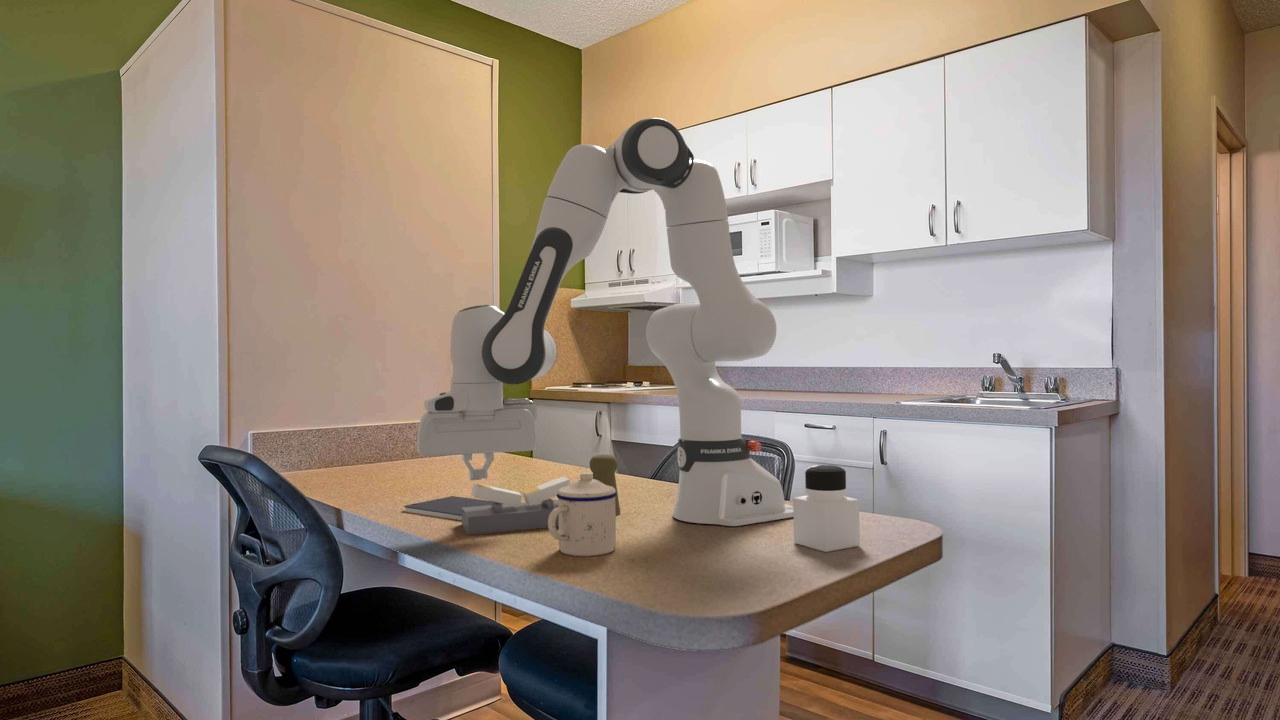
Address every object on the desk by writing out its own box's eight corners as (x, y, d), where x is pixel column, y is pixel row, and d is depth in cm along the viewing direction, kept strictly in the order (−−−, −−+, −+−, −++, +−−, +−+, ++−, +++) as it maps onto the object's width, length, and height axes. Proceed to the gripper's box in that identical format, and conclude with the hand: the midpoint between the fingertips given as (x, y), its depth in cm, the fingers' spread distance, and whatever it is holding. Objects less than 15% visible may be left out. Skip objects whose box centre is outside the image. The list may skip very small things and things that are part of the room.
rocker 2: (566, 486, 141) (563, 475, 141) (572, 490, 138) (569, 478, 137) (525, 502, 139) (521, 491, 139) (529, 505, 135) (526, 494, 135)
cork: (616, 517, 141) (615, 457, 141) (584, 516, 142) (583, 456, 142) (623, 510, 147) (622, 453, 147) (592, 510, 148) (591, 452, 148)
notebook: (527, 513, 149) (452, 503, 161) (527, 505, 149) (452, 495, 161) (478, 526, 138) (402, 514, 151) (478, 517, 138) (402, 505, 151)
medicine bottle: (860, 546, 117) (859, 467, 117) (825, 553, 113) (823, 471, 113) (827, 537, 123) (826, 461, 123) (792, 543, 119) (791, 465, 119)
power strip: (602, 512, 146) (601, 489, 146) (616, 521, 138) (616, 497, 138) (461, 524, 137) (461, 500, 137) (468, 535, 129) (468, 509, 129)
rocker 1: (515, 502, 138) (518, 491, 138) (519, 506, 134) (522, 494, 135) (471, 493, 136) (474, 482, 136) (474, 497, 132) (477, 485, 132)
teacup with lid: (589, 539, 124) (587, 467, 124) (630, 548, 118) (628, 472, 118) (530, 554, 115) (528, 476, 115) (571, 565, 109) (569, 482, 109)
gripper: (532, 397, 140) (533, 473, 140) (415, 400, 133) (416, 480, 133) (540, 398, 134) (541, 478, 134) (418, 402, 127) (419, 486, 127)
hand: (478, 479), depth 134 cm, fingers closed
